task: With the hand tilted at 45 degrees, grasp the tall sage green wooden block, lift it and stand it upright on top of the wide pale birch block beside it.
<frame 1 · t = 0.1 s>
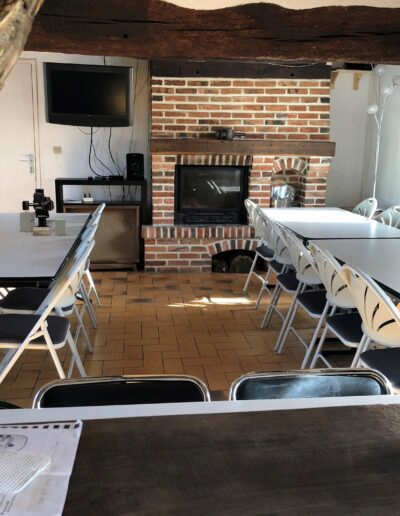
hand: (34, 207, 347), 17 cm above the table, tool horizontal, fingers open, 9 cm apart
sage block: (60, 234, 348), on the table
birch plinth: (41, 234, 347), on the table
supplement box: (27, 231, 356), on the table
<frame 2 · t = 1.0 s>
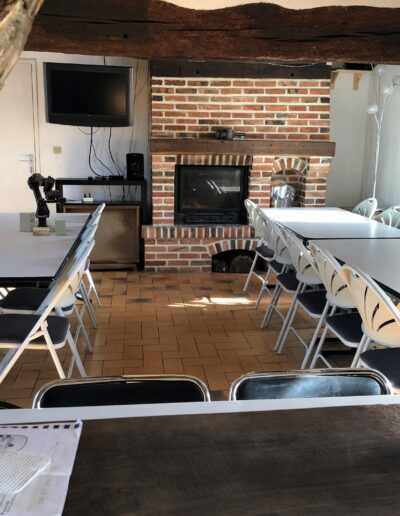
hand: (55, 211, 351), 14 cm above the table, tool tilted 45°, fingers open, 9 cm apart
nothing on the table moved.
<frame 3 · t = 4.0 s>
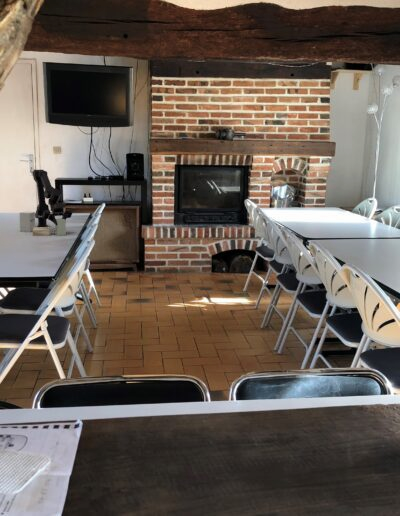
hand: (61, 224, 345), 7 cm above the table, tool tilted 45°, fingers closed on sage block, 5 cm apart
sage block: (60, 234, 348), on the table, touching gripper
everything else where it was.
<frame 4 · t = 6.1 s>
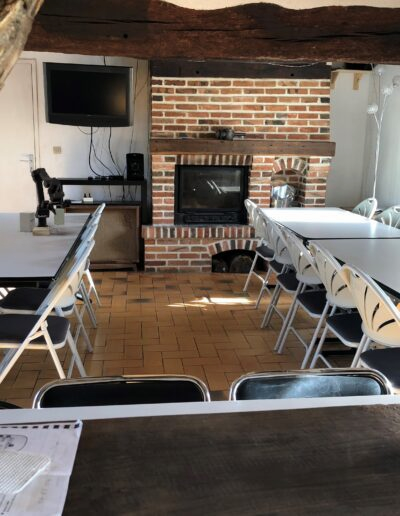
hand: (59, 214, 344), 13 cm above the table, tool tilted 45°, fingers closed on sage block, 5 cm apart
sage block: (59, 224, 346), point 7 cm above the table, touching gripper
everything else where it was.
when the fingers open (12 cm above the table, at t = 8.7 s): sage block drops 2 cm, point 4 cm above the table.
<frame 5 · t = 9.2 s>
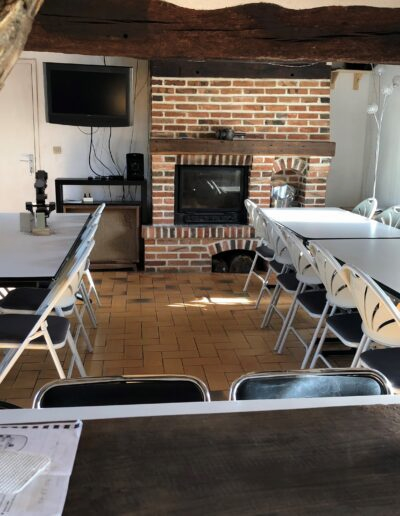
hand: (41, 216, 343), 12 cm above the table, tool tilted 45°, fingers open, 9 cm apart
sage block: (41, 228, 346), point 4 cm above the table
everything else where it was.
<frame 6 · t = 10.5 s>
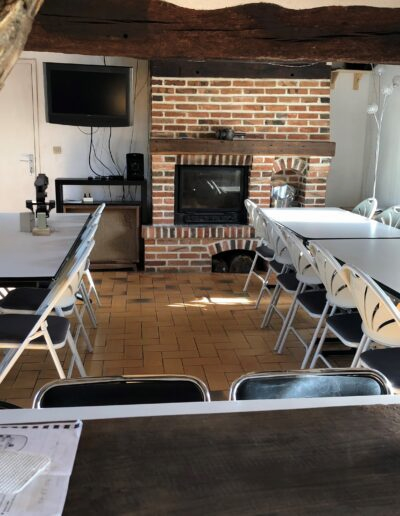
hand: (41, 214, 348), 12 cm above the table, tool tilted 45°, fingers open, 9 cm apart
nothing on the table moved.
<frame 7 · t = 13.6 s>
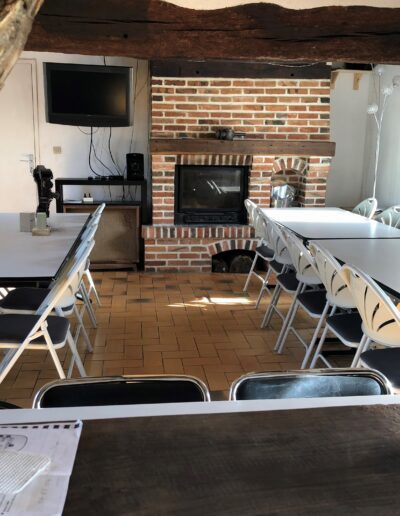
hand: (46, 211, 358), 13 cm above the table, tool pointing down, fingers open, 9 cm apart
sage block: (41, 228, 346), point 4 cm above the table, touching birch plinth
birch plinth: (41, 234, 347), on the table, touching sage block
everything else where it was.
at the end: sage block 0.5 cm off-centre on the birch plinth, point 4.1 cm above the birch plinth's base; sage block tilted 1°; the gripper is holding nothing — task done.
